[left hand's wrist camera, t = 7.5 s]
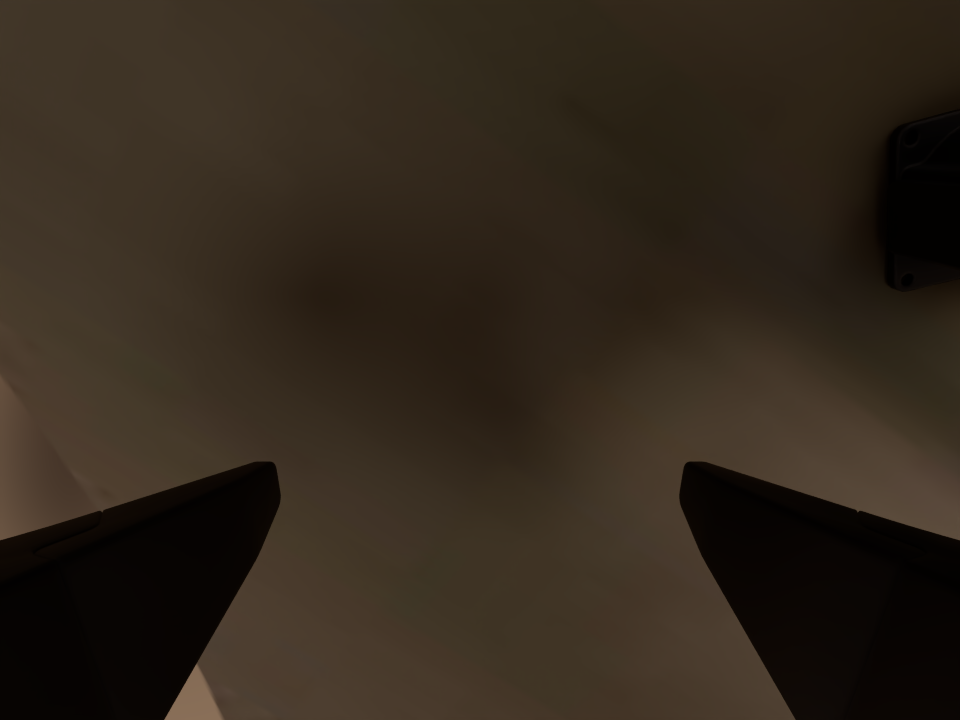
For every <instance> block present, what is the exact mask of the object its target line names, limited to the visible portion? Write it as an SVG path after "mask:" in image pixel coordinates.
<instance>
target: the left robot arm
mask: <svg viewBox="0 0 960 720" xmlns="http://www.w3.org/2000/svg"><path fill="white" fill-rule="evenodd" d="M908 132H910V134H911V138H910V140H909V142H908V143H907V144H906V143H905V136H906V135H907V133H908ZM887 249H888V284H889V286H890V287H891V288H893V289H896V290H899V291H902V292H903V291H910V290H914V289H918V288H923V287H927V286H931V285H935V284H939V283H943V282H947V281H952V280H956V279H960V109H957V110H954V111H950V112H946V113H943V114H939V115H935V116H932V117H928V118H924V119H920V120H917V121H913V122H909V123H906V124H903V125H901V126H899V127H898V128H897V129H895V130H894V132H893V134H892V135H891V139H890V169H889V188H888V195H887ZM904 275H907V277H906V279H905V280H904V282H902V283H901V279H902V277H903V276H904ZM280 499H281V494H280V487H279V481H278V475H277V469H276V466H275V464H274V463H273V462H253V463H250V464H247V465H244V466H240V467H237V468H234V469H231V470H228V471H225V472H222V473H218V474H215V475H212V476H209V477H206V478H203V479H200V480H196V481H193V482H190V483H187V484H184V485H181V486H178V487H174V488H171V489H168V490H165V491H162V492H159V493H156V494H152V495H149V496H146V497H143V498H140V499H137V500H134V501H131V502H127V503H124V504H121V505H118V506H115V507H112V508H109V509H105V510H104V511H103V512H101V511H97V512H94V513H91V514H87V515H84V516H81V517H78V518H75V519H72V520H68V521H65V522H62V523H58V524H55V525H52V526H49V527H45V528H42V529H38V530H35V531H31V532H28V533H25V534H21V535H18V536H14V537H11V538H7V539H4V540H0V720H164V719H165V717H166V716H167V714H168V712H169V711H170V709H171V707H172V705H173V703H174V702H175V700H176V698H177V697H178V695H179V693H180V691H181V690H182V688H183V686H184V684H185V683H186V681H187V679H188V677H189V676H190V674H191V672H192V671H193V669H194V667H195V665H196V664H197V662H198V660H199V658H200V657H201V655H202V653H203V651H204V650H205V648H206V646H207V644H208V643H209V641H210V639H211V637H212V636H213V634H214V632H215V630H216V629H217V627H218V625H219V624H220V622H221V620H222V618H223V617H224V615H225V613H226V611H227V610H228V608H229V606H230V604H231V603H232V601H233V599H234V597H235V596H236V594H237V592H238V590H239V589H240V587H241V585H242V584H243V582H244V580H245V578H246V577H247V575H248V573H249V571H250V570H251V568H252V566H253V564H254V563H255V561H256V559H257V557H258V555H259V553H260V551H261V548H262V546H263V544H264V541H265V539H266V536H267V534H268V532H269V529H270V527H271V524H272V522H273V520H274V517H275V515H276V512H277V510H278V508H279V505H280ZM679 499H680V505H681V508H682V510H683V512H684V515H685V517H686V520H687V522H688V524H689V527H690V529H691V532H692V534H693V536H694V539H695V541H696V544H697V546H698V548H699V551H700V553H701V555H702V557H703V559H704V561H705V563H706V564H707V566H708V568H709V570H710V571H711V573H712V575H713V577H714V578H715V580H716V582H717V584H718V585H719V587H720V589H721V590H722V592H723V594H724V596H725V597H726V599H727V601H728V603H729V604H730V606H731V608H732V610H733V611H734V613H735V615H736V617H737V618H738V620H739V622H740V624H741V625H742V627H743V629H744V631H745V632H746V634H747V636H748V637H749V639H750V641H751V643H752V644H753V646H754V648H755V650H756V651H757V653H758V655H759V657H760V658H761V660H762V662H763V664H764V665H765V667H766V669H767V671H768V672H769V674H770V676H771V677H772V679H773V681H774V683H775V684H776V686H777V688H778V690H779V691H780V693H781V695H782V697H783V698H784V700H785V702H786V704H787V705H788V707H789V709H790V711H791V712H792V714H793V716H794V717H795V719H796V720H960V540H956V539H953V538H949V537H946V536H942V535H939V534H935V533H932V532H929V531H925V530H922V529H918V528H915V527H911V526H908V525H905V524H902V523H898V522H895V521H892V520H889V519H885V518H882V517H879V516H876V515H873V514H869V513H866V512H863V511H859V512H857V511H856V510H855V509H851V508H848V507H845V506H842V505H839V504H836V503H833V502H829V501H826V500H823V499H820V498H817V497H814V496H811V495H808V494H804V493H801V492H798V491H795V490H792V489H789V488H786V487H782V486H779V485H776V484H773V483H770V482H767V481H764V480H760V479H757V478H754V477H751V476H748V475H745V474H742V473H738V472H735V471H732V470H729V469H726V468H723V467H720V466H716V465H713V464H710V463H707V462H687V463H686V464H685V466H684V469H683V475H682V481H681V487H680V494H679Z"/></svg>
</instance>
